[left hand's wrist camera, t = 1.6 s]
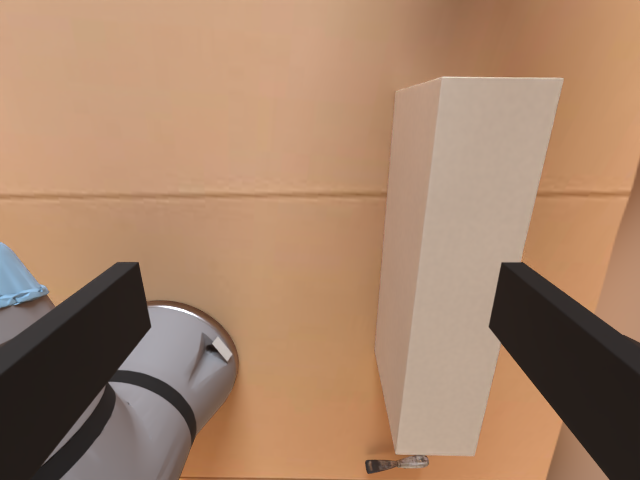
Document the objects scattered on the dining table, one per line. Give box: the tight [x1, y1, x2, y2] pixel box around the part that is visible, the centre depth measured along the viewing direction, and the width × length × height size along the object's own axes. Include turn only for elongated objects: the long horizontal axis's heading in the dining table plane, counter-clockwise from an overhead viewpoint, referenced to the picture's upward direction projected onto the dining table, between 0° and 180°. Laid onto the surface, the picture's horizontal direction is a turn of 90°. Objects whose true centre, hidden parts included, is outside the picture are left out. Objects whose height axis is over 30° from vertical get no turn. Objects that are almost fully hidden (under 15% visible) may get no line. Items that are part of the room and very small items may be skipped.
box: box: [374, 77, 564, 456], centre depth 28 cm, size 27×6×12 cm, turn 179°
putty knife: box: [365, 455, 429, 474], centre depth 43 cm, size 1×8×2 cm, turn 99°
